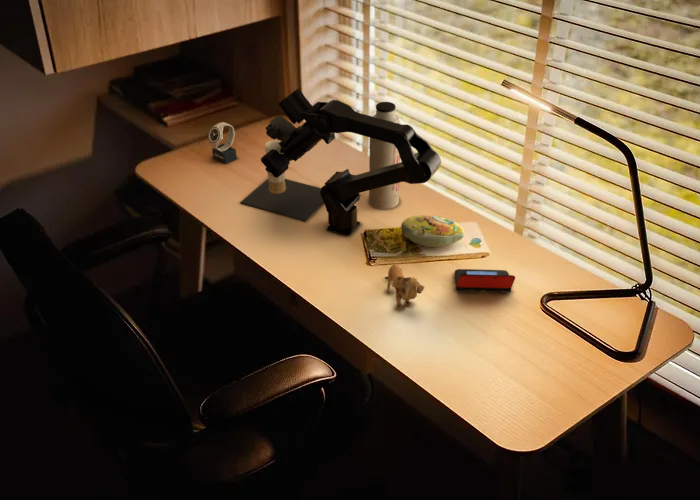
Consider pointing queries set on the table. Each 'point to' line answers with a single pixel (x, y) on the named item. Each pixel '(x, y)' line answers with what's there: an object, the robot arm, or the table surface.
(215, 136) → the watch
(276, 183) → the sprinkles bottle
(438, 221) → the cell model
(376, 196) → the thermos bottle
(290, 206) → the desk mat
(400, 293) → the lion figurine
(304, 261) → the table surface
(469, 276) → the handheld console
